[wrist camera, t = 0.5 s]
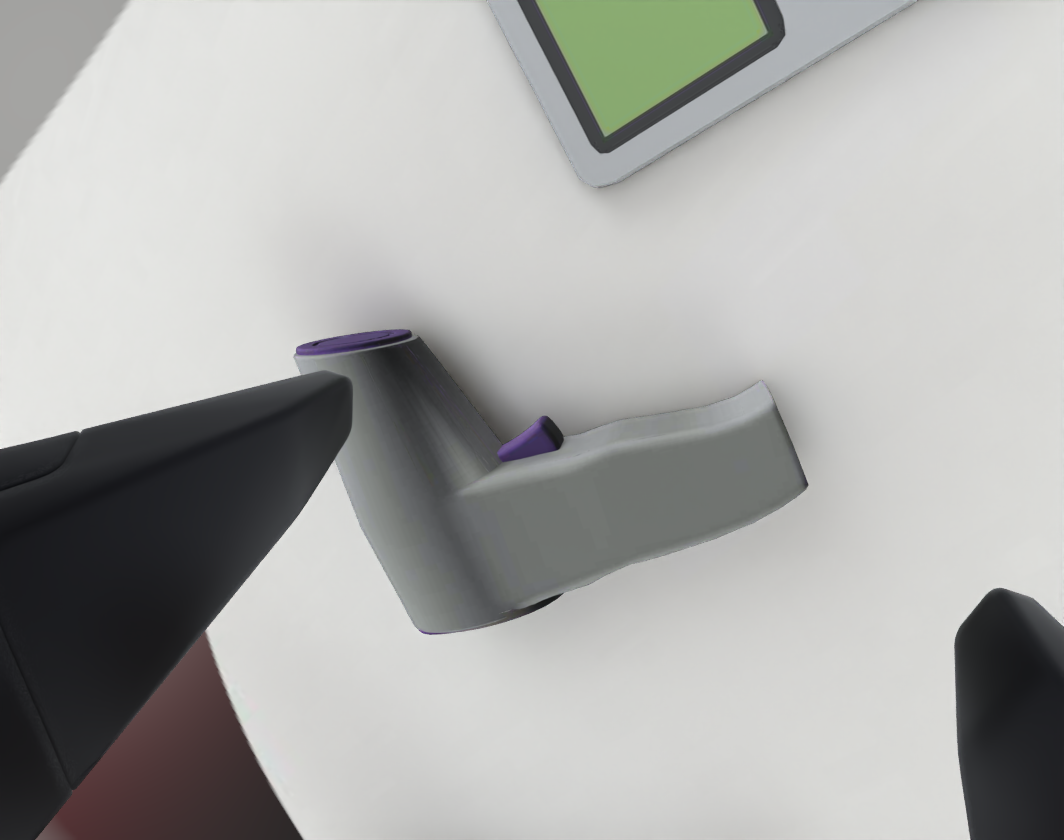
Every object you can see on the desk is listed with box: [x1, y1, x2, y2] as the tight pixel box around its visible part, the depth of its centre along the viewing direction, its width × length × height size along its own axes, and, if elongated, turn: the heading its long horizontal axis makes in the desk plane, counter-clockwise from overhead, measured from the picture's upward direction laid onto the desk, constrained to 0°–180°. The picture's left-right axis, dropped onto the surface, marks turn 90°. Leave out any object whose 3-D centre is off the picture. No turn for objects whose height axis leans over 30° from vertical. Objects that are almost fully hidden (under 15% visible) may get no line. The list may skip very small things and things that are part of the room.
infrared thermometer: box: [294, 329, 808, 635], centre depth 24 cm, size 5×12×15 cm
